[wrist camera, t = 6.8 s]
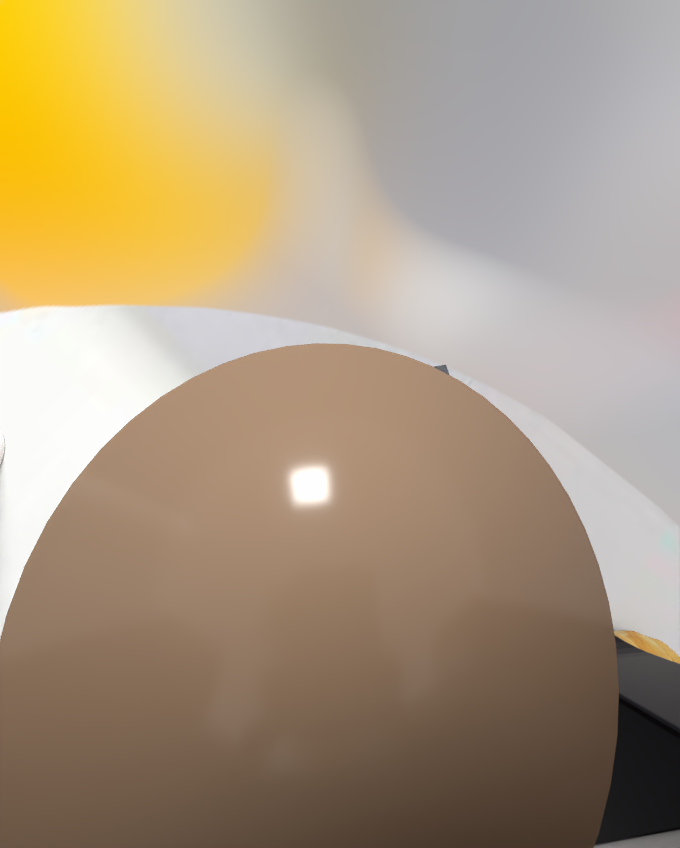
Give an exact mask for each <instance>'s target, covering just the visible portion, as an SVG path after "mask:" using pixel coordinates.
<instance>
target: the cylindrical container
mask: <svg viewBox="0 0 680 848" xmlns="http://www.w3.org/2000/svg"><path fill="white" fill-rule="evenodd" d="M4 449H5V442H4V436H3V434H2V431H1V429H0V464H1V462H2V459H3V456H4Z"/></svg>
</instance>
